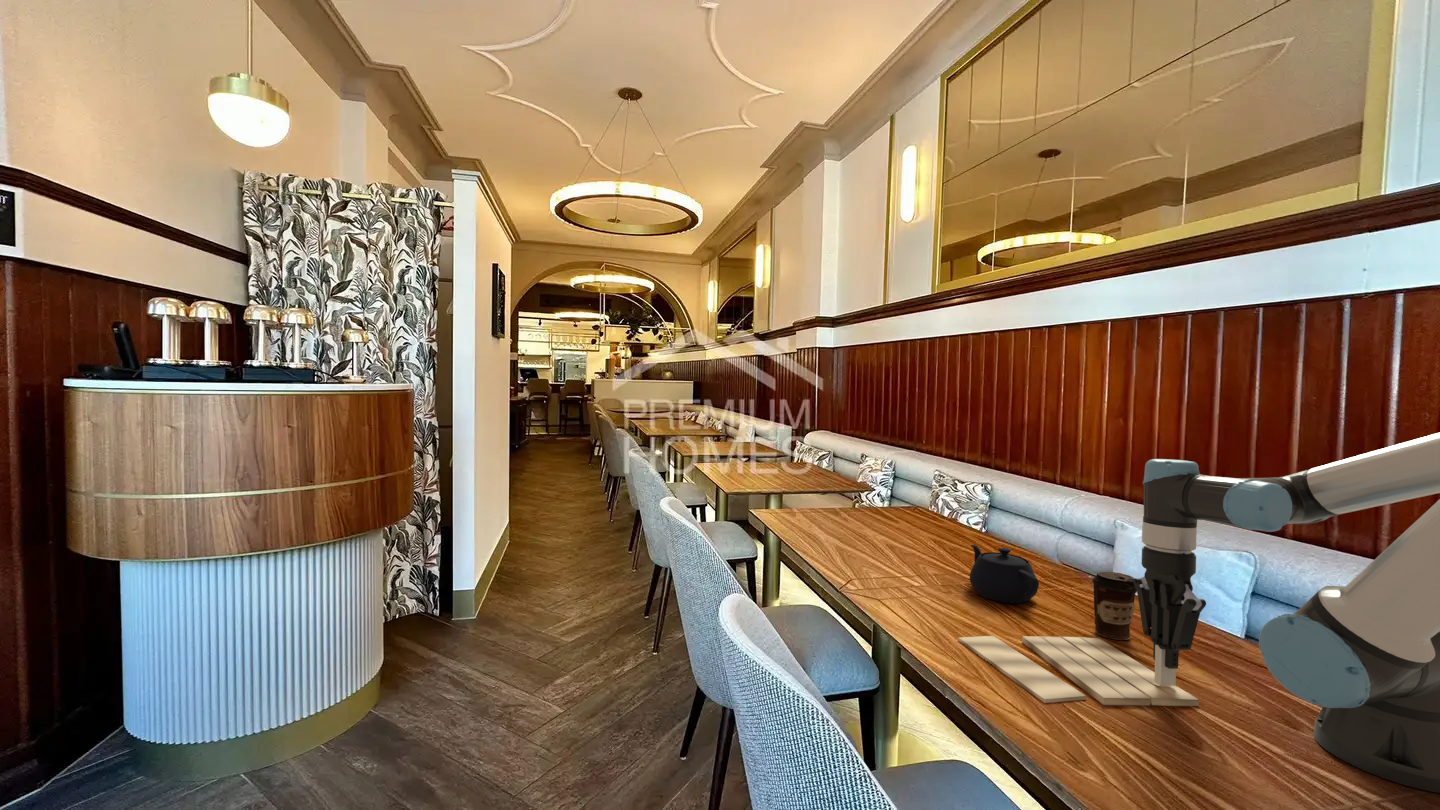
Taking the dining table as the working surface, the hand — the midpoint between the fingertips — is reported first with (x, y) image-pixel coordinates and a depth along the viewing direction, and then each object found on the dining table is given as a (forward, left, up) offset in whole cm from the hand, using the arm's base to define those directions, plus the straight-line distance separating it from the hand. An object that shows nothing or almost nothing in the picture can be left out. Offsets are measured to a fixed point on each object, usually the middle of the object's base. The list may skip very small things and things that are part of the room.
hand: (1164, 683), depth 102 cm
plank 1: (+9, +22, -2) cm, 23 cm away
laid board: (+8, +10, -2) cm, 13 cm away
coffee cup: (+24, -8, -2) cm, 25 cm away
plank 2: (+8, +2, -2) cm, 8 cm away
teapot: (+48, +4, -2) cm, 48 cm away
